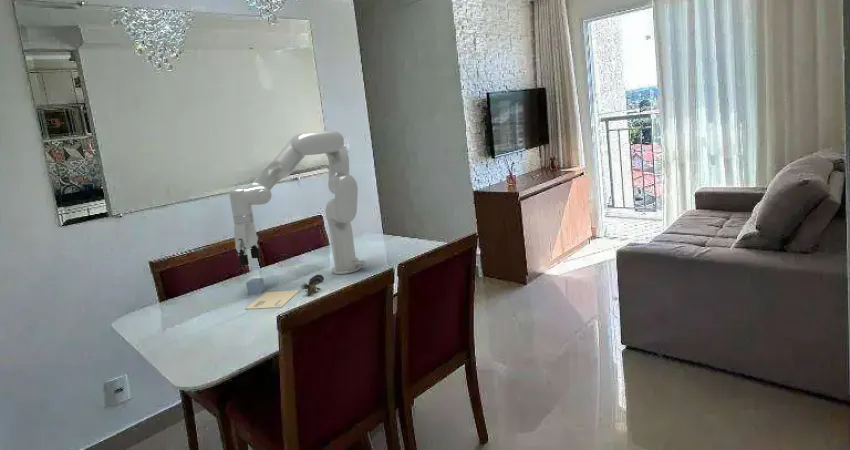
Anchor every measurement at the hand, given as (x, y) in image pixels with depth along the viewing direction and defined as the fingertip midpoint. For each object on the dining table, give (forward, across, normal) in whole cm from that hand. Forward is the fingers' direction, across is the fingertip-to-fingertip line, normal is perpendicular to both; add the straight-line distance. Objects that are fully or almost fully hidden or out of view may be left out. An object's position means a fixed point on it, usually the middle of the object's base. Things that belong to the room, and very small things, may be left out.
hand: (250, 261), depth 218 cm
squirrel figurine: (+13, +4, +27) cm, 30 cm away
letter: (+13, +11, +12) cm, 21 cm away
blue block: (+13, 0, 0) cm, 13 cm away
